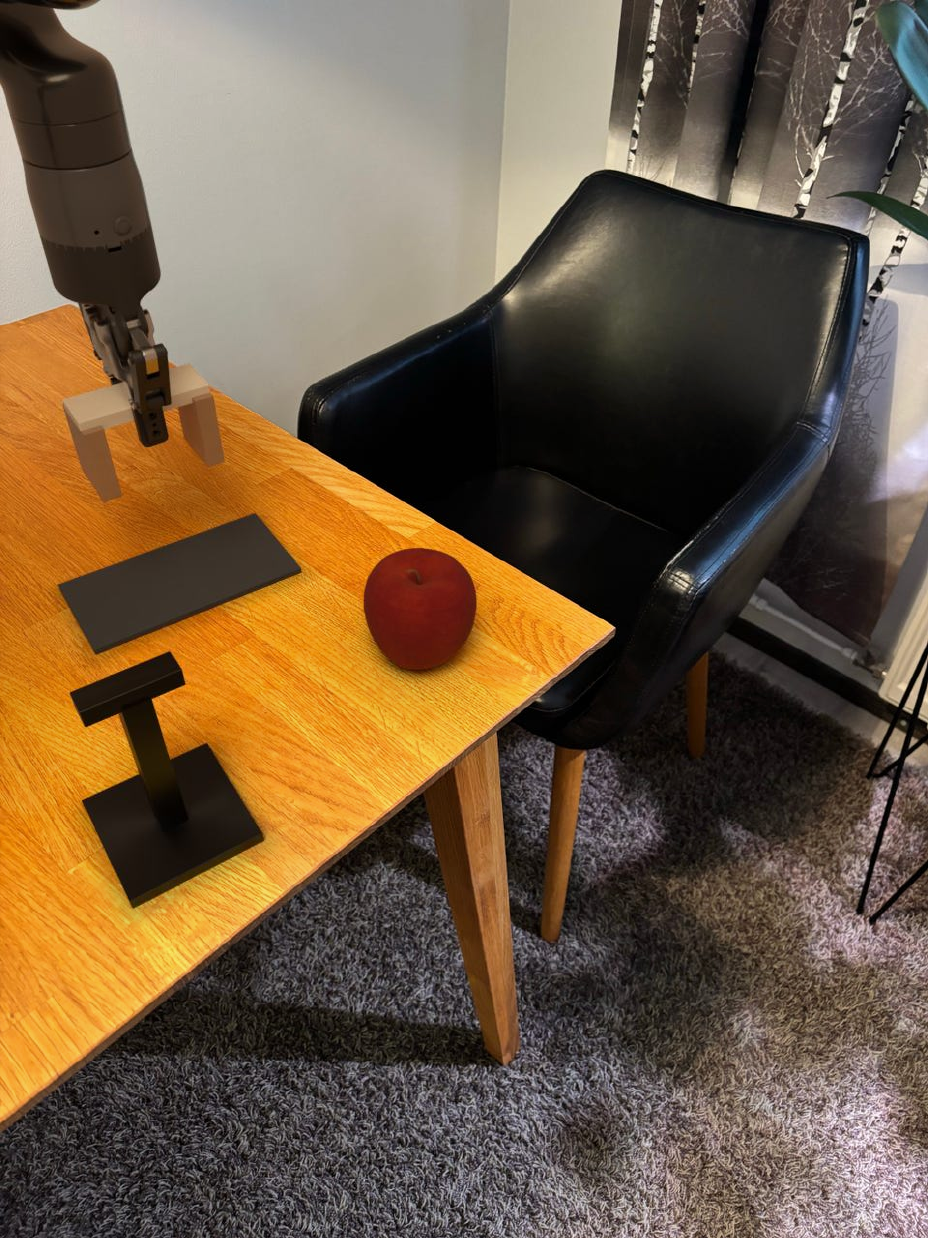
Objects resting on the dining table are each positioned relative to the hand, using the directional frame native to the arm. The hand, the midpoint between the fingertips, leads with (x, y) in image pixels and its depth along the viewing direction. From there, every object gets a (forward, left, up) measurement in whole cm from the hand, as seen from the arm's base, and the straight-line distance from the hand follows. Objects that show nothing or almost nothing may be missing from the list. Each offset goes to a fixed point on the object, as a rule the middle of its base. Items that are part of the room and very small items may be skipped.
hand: (144, 428), depth 79 cm
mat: (0, 0, -17) cm, 17 cm away
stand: (-11, -25, -17) cm, 32 cm away
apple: (+14, -20, -17) cm, 30 cm away
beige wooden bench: (0, 0, -4) cm, 4 cm away
